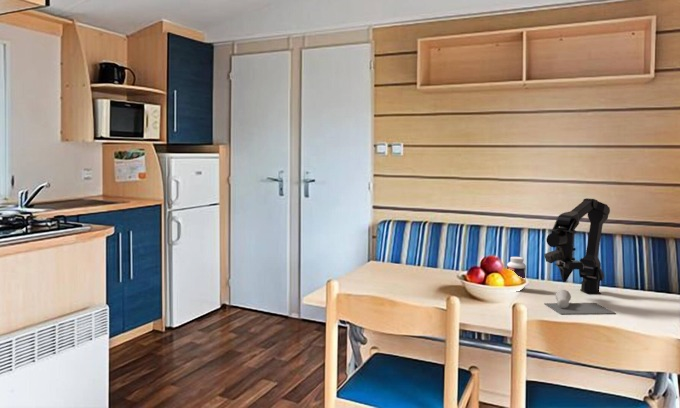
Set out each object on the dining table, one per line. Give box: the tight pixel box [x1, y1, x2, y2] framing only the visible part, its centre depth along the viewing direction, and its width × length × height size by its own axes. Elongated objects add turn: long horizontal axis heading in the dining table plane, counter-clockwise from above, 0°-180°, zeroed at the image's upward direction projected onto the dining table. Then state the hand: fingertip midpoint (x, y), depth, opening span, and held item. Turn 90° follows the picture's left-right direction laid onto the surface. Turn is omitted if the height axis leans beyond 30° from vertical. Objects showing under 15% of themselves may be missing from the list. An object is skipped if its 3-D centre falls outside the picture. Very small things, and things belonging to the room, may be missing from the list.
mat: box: [543, 302, 617, 316], centre depth 216 cm, size 22×14×1 cm, turn 95°
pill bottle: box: [506, 256, 527, 291], centre depth 245 cm, size 8×8×14 cm
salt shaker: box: [555, 289, 572, 309], centre depth 220 cm, size 6×6×13 cm
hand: (564, 281), depth 229 cm, fingers closed
